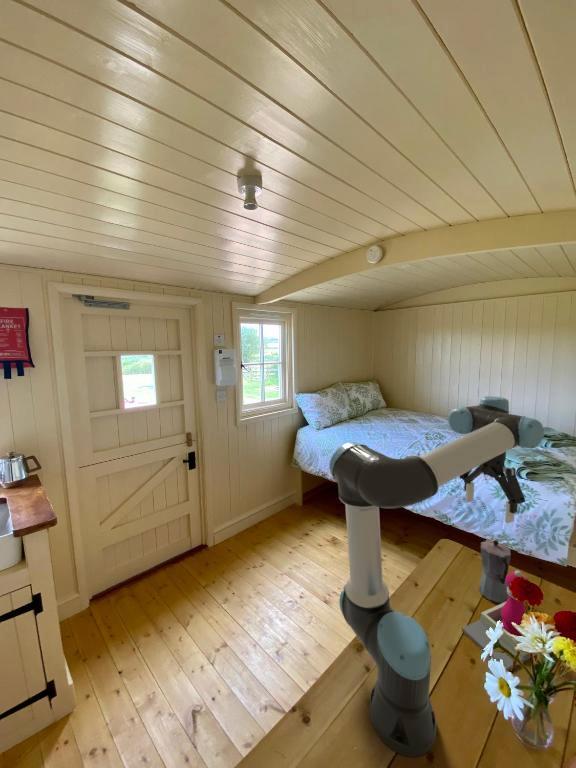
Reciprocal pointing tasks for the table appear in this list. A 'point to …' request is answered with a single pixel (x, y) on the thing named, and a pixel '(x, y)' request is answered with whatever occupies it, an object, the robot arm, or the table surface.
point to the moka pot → (494, 571)
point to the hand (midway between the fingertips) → (488, 511)
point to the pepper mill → (512, 607)
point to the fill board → (480, 638)
